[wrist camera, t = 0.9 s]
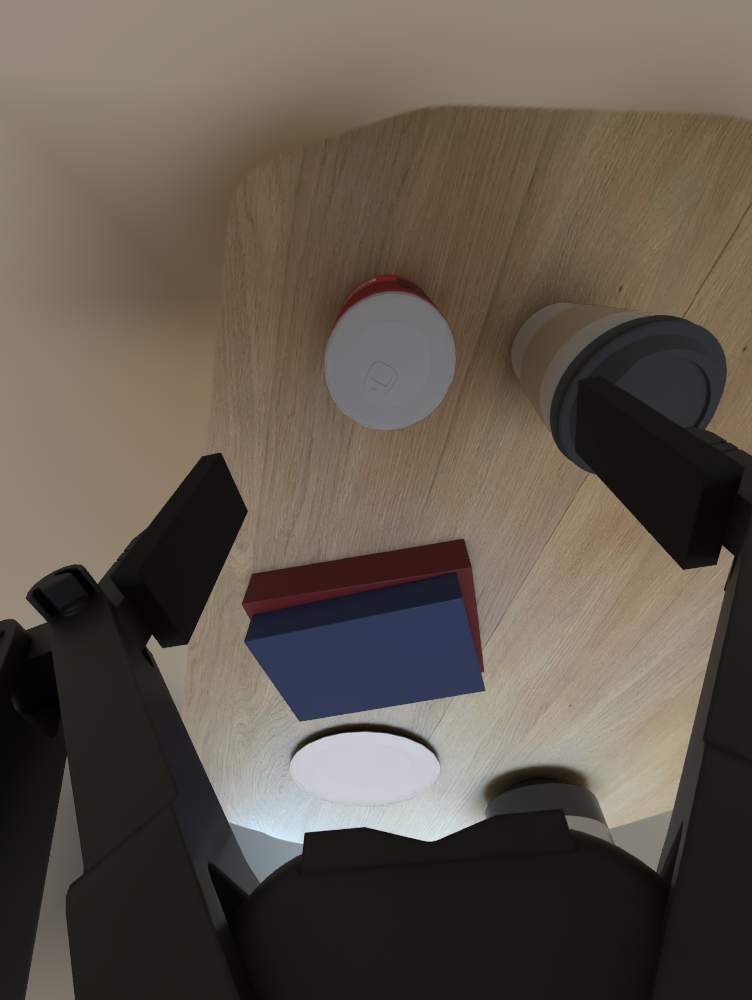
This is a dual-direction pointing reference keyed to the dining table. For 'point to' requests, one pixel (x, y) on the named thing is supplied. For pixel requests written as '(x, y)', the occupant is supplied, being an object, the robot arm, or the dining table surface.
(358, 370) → the canned food
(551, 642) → the dining table surface
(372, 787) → the plate
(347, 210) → the dining table surface
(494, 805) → the planter
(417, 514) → the dining table surface
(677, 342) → the coffee cup
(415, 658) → the book stack
